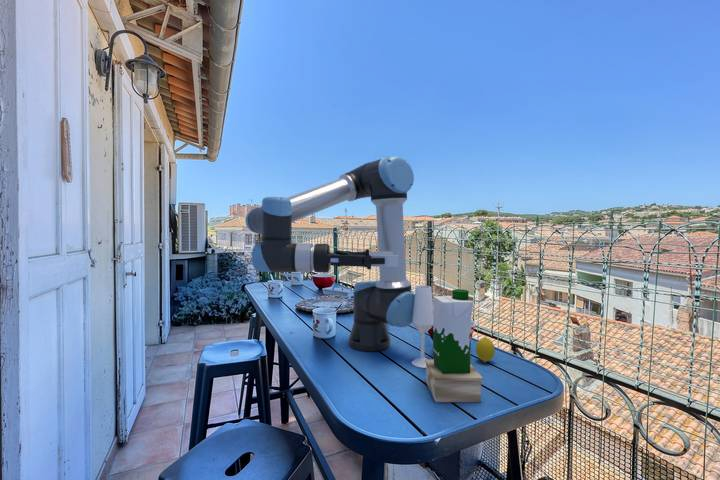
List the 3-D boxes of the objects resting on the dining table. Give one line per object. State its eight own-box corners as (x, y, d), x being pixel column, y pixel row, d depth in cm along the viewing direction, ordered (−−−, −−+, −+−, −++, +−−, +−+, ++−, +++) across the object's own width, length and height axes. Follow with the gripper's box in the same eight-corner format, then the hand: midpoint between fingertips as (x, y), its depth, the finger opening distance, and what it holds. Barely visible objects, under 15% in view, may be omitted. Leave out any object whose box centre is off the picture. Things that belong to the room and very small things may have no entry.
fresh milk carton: (475, 374, 81) (476, 293, 80) (439, 375, 80) (440, 294, 80) (461, 360, 90) (462, 287, 89) (429, 361, 89) (430, 287, 88)
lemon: (496, 366, 101) (496, 340, 101) (477, 365, 102) (477, 339, 102) (492, 359, 106) (493, 335, 106) (474, 358, 107) (475, 334, 107)
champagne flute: (417, 368, 99) (418, 289, 98) (407, 360, 105) (408, 285, 104) (437, 366, 101) (438, 288, 100) (426, 358, 107) (427, 284, 106)
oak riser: (424, 380, 91) (424, 359, 90) (466, 381, 91) (466, 359, 91) (434, 402, 79) (434, 377, 79) (482, 402, 79) (482, 378, 79)
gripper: (319, 267, 98) (390, 267, 99) (306, 279, 73) (401, 279, 74) (319, 242, 98) (390, 242, 98) (306, 245, 73) (401, 246, 73)
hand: (395, 258), depth 86 cm, fingers open, 13 cm apart
